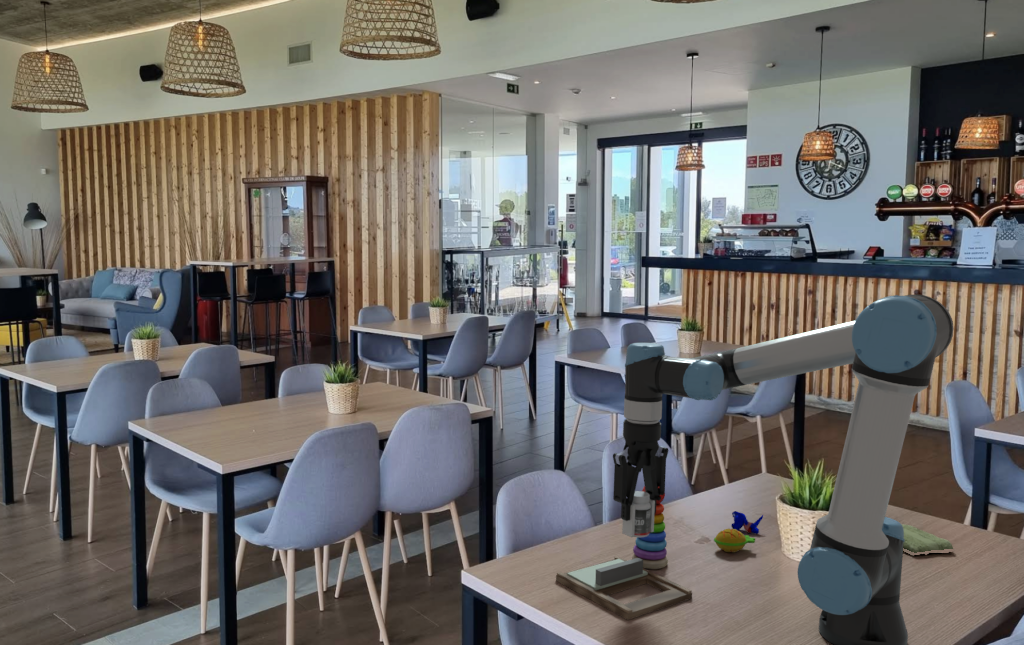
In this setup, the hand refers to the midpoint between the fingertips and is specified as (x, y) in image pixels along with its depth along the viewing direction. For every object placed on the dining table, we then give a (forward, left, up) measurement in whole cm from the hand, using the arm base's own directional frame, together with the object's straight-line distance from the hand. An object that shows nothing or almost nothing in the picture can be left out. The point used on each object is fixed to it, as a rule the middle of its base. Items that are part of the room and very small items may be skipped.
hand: (638, 532), depth 166 cm
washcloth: (-14, -80, -14) cm, 82 cm away
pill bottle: (0, 0, -1) cm, 1 cm away
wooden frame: (+4, 0, -13) cm, 14 cm away
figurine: (+13, -52, -14) cm, 55 cm away
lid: (+9, 0, -12) cm, 15 cm away
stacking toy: (+11, -15, -14) cm, 23 cm away
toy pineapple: (+6, -38, -14) cm, 41 cm away
